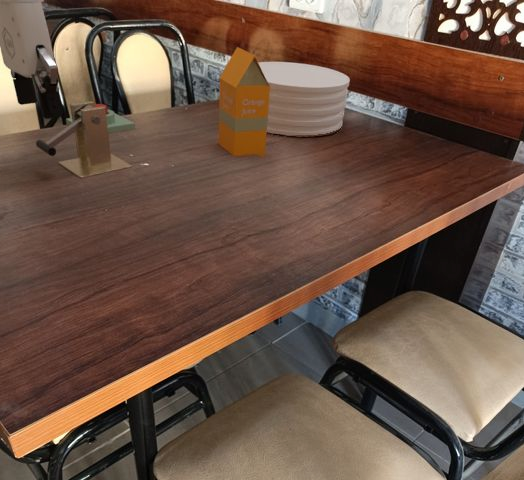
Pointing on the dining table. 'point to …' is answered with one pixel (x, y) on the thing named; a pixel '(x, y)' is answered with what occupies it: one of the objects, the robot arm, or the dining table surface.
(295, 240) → the dining table surface
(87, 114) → the bracket
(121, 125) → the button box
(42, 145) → the lever
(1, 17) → the robot arm
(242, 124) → the orange juice
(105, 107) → the stop button
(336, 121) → the plate stack
